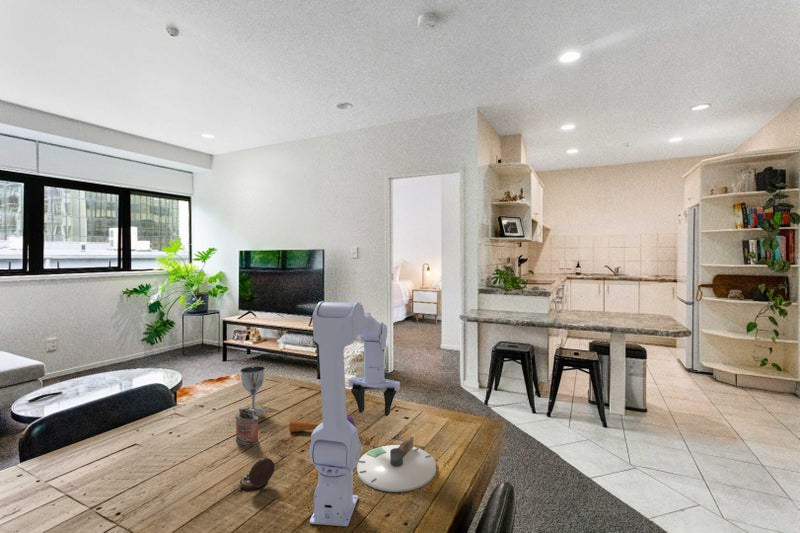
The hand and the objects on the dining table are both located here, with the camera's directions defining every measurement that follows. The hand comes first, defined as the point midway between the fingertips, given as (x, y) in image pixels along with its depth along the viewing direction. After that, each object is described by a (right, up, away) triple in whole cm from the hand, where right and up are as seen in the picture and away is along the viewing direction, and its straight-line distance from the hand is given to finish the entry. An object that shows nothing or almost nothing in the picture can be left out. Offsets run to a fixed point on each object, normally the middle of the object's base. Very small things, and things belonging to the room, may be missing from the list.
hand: (374, 413), depth 107 cm
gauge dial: (+6, -10, -10) cm, 15 cm away
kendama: (-17, -10, +10) cm, 22 cm away
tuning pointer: (+8, -9, -6) cm, 14 cm away
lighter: (-37, -10, +5) cm, 39 cm away
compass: (-28, -11, -17) cm, 34 cm away
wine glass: (-44, -10, +26) cm, 52 cm away
